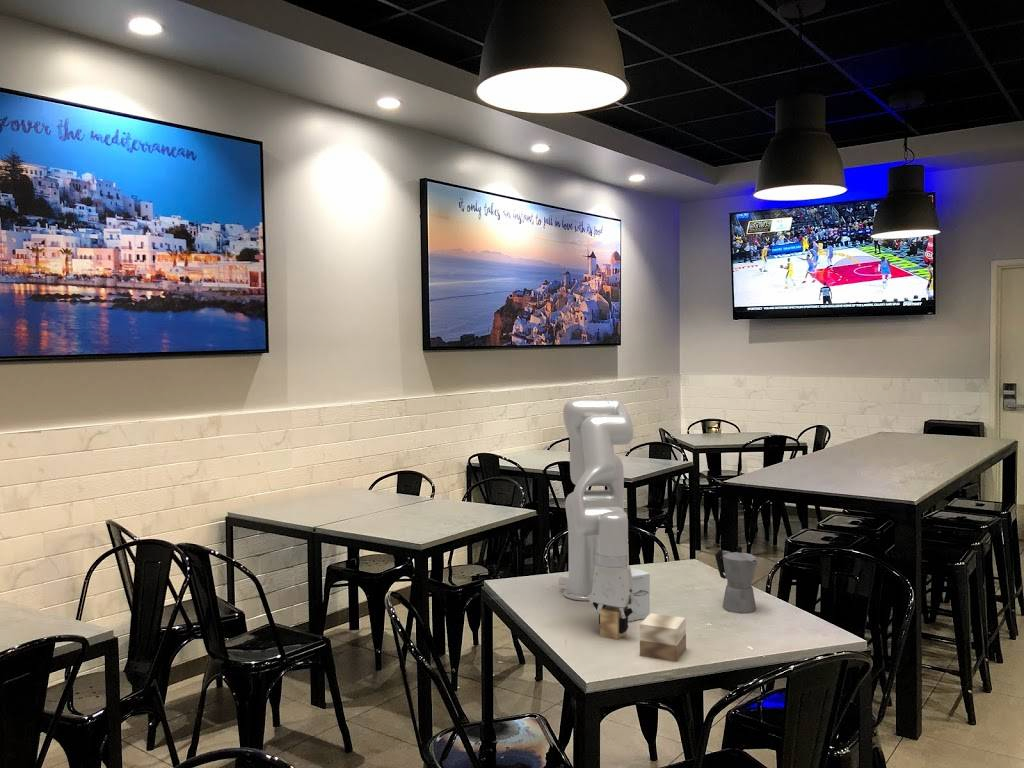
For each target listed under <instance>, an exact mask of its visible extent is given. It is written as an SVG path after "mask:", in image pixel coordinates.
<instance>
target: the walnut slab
mask: <svg viewBox="0 0 1024 768" xmlns="http://www.w3.org/2000/svg"><path fill="white" fill-rule="evenodd" d="M686 650H687V633H686V634H685V636H684V637H683V638H682V639H681V641H680V642H679V643H678V645H677V646H675V645H668V644H661V643H654V642H648V641H641V640H640V639H639V656H640V657H644V658H649V659H650V658H651V659H657V660H662V661H671V662H674V663H675V662H678V661H679V659H680V658H681V656H683V654H684V653H685V651H686Z"/></svg>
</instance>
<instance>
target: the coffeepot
mask: <svg viewBox="0 0 1024 768" xmlns="http://www.w3.org/2000/svg"><path fill="white" fill-rule="evenodd" d="M742 551H743V546H741V545H737V546H736V551H735V552H733V551H732V552H731V551H730V550H729V551H727V550H725V549H719V550H718V551H716V553H715V555H714V556H715V561H716V564H717V568H718V569H717V570H718V573H719V576H720V578H722V579H724V580H727V583H726V586H725V590H724V596H723V602H722V608H723V609H724V610H725V611H727V612H730V613H735V614H750V612H751V613H753V611H754V612H755V611H756V610H757V605H756V600H755V599H756V598H755V593H754V588H753V586H752V581H754V576H755V571H756V570H755V569H756V566H757V565H759V564H760V563H759V560H758V559H757V556H755V555H753V554H751V553H747V552H742Z"/></svg>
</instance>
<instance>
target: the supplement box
mask: <svg viewBox="0 0 1024 768" xmlns="http://www.w3.org/2000/svg"><path fill="white" fill-rule="evenodd" d="M630 569H631V574H632V581H633V596H634V597H635V599H636V600H637V602H638V603H639V605H640V607H639V608H638V609H636V610H635V611H634V612H632V613H631V614H630V615H629V616H628V623H630V622H632V621H633V622H634V621H636V620H637V621H638V620H644V619H645V618H646V617H647V616H648V615H649V614H650V601H651V600H650V599H651V598H650V596H651V595H650V593H651V592H650V590H651V589H650V586H651V585H650V584H651V583H650V580H651V579H650V577H651V575H650V572H648V571H645V570H643V569H639V568H636V567H632V568H631V567H630ZM631 606H632V605H631V604H628V608H630V607H631Z"/></svg>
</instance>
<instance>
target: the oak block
mask: <svg viewBox="0 0 1024 768" xmlns="http://www.w3.org/2000/svg"><path fill="white" fill-rule="evenodd" d="M619 618H621V615H620V611H619V608H617V607H612V606H605V607H603V608H601V609H600V625H599V629H600V630H599V636H600V637H604V638H607V639H612V640H619V639H621V638H622V637H624V636H626V635H627V631H626V632H624V633H622V634H620V633H619Z"/></svg>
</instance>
